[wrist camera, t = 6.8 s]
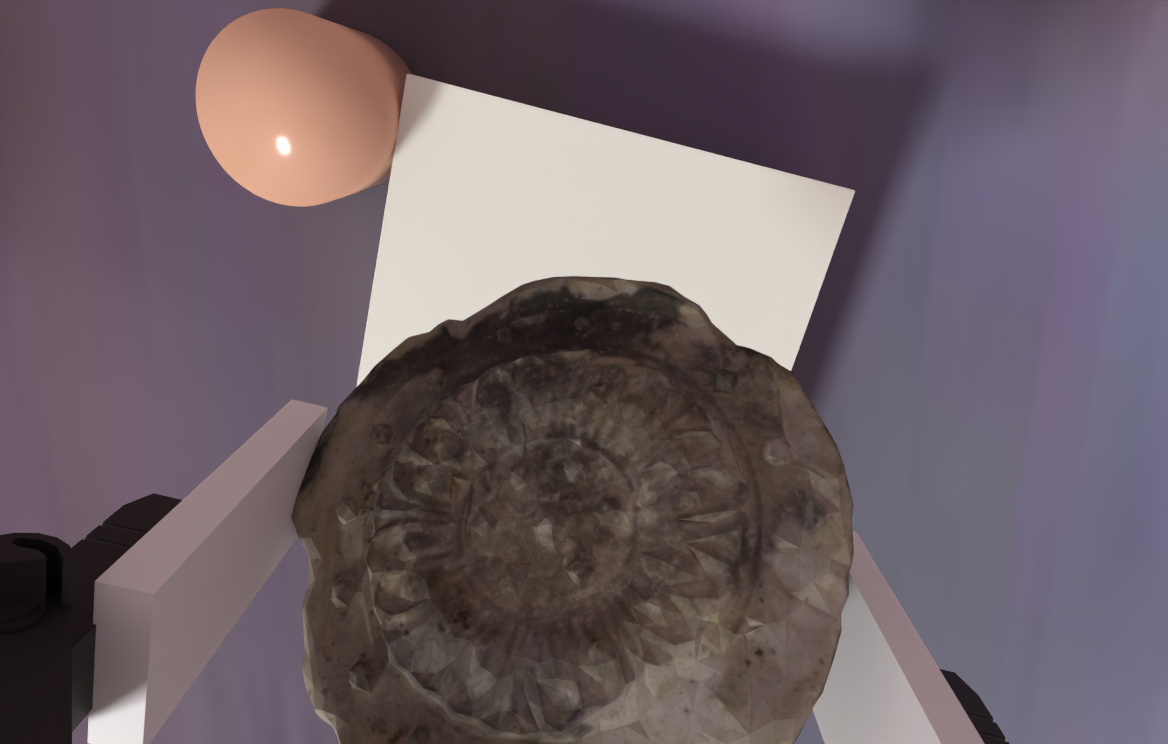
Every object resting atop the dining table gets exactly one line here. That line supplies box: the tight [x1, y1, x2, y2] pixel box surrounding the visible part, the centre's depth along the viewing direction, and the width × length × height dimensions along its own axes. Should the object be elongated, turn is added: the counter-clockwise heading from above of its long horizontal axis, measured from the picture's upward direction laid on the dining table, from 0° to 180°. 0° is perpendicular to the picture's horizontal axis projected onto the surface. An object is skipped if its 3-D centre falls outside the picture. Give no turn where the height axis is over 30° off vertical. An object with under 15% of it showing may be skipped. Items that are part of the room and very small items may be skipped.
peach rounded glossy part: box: [196, 8, 413, 206], centre depth 27 cm, size 6×6×6 cm
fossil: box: [291, 276, 854, 744], centre depth 16 cm, size 11×9×10 cm
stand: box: [357, 74, 855, 386], centre depth 31 cm, size 16×16×4 cm
